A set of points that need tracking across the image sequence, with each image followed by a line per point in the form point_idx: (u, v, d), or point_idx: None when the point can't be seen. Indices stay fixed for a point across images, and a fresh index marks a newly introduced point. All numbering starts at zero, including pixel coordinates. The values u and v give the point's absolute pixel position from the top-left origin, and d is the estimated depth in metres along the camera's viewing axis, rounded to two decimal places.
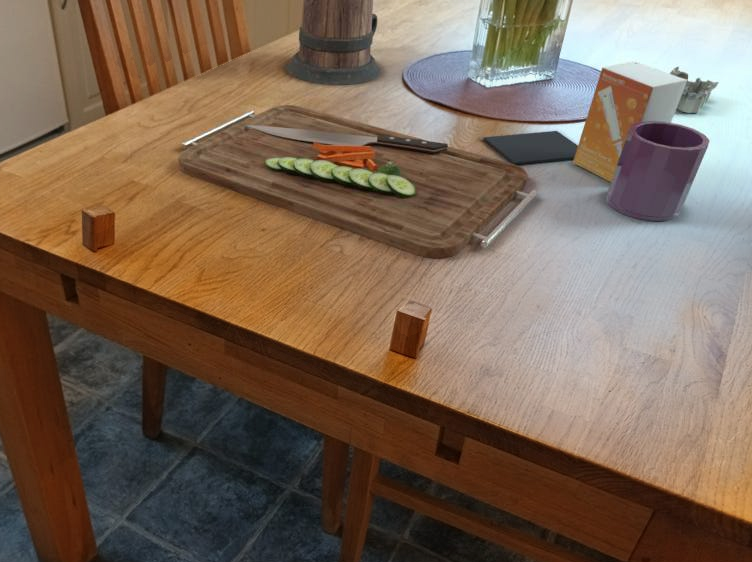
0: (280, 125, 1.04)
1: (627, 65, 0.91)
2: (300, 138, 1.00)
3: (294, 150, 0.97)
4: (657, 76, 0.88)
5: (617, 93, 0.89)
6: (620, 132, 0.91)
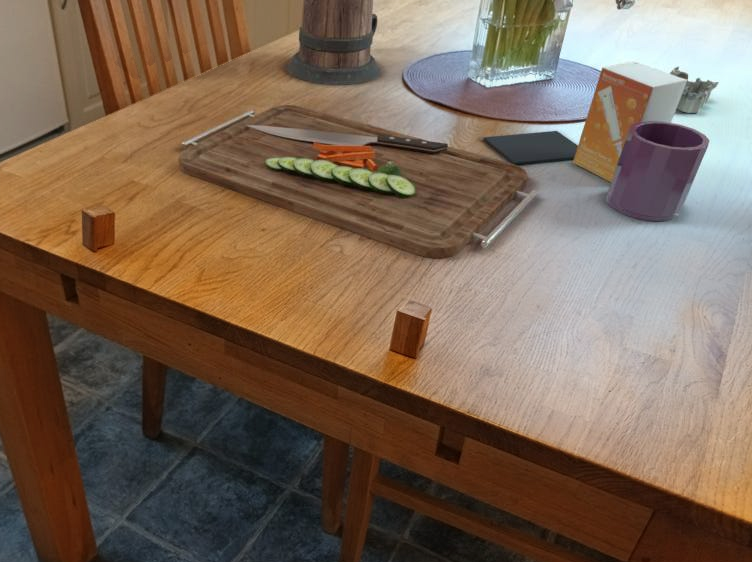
0: (280, 125, 1.04)
1: (627, 65, 0.91)
2: (300, 138, 1.00)
3: (294, 150, 0.97)
4: (657, 76, 0.88)
5: (617, 93, 0.89)
6: (620, 132, 0.91)
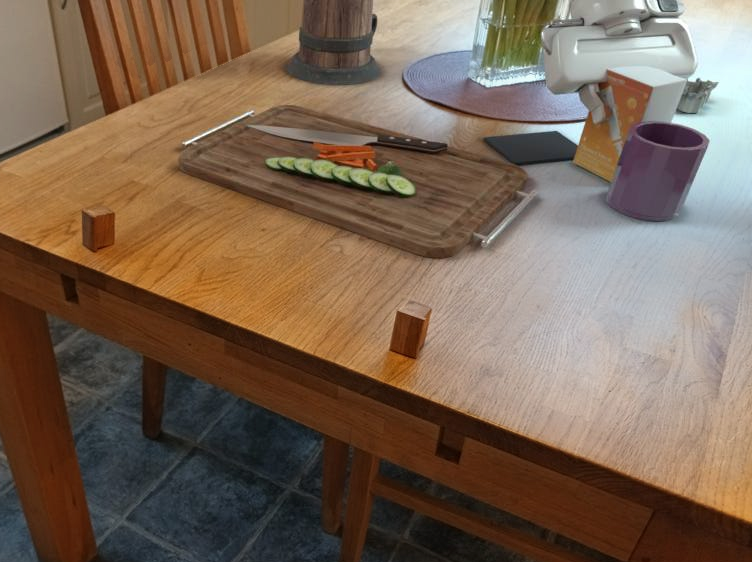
0: (280, 125, 1.04)
1: None
2: (300, 138, 1.00)
3: (294, 150, 0.97)
4: (657, 76, 0.88)
5: (617, 92, 0.89)
6: (621, 131, 0.91)
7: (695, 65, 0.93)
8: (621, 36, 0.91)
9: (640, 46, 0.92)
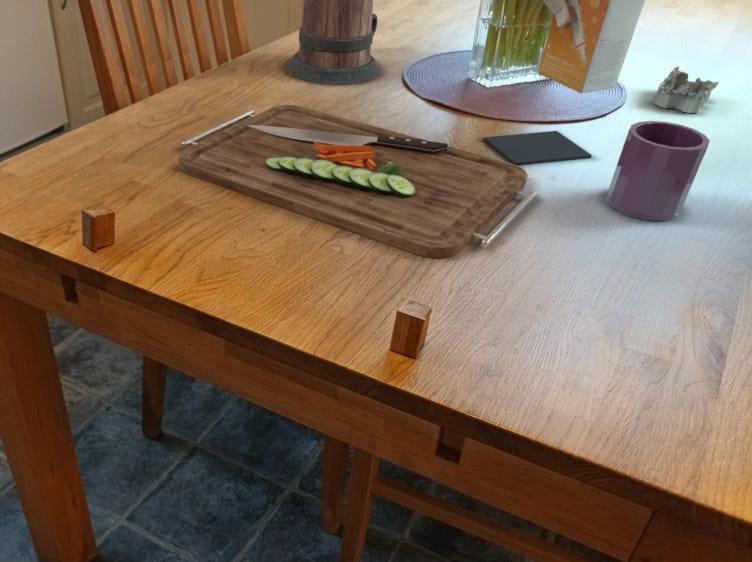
0: (280, 125, 1.04)
1: None
2: (300, 138, 1.00)
3: (294, 150, 0.97)
4: None
5: None
6: (584, 34, 0.88)
7: None
8: None
9: None
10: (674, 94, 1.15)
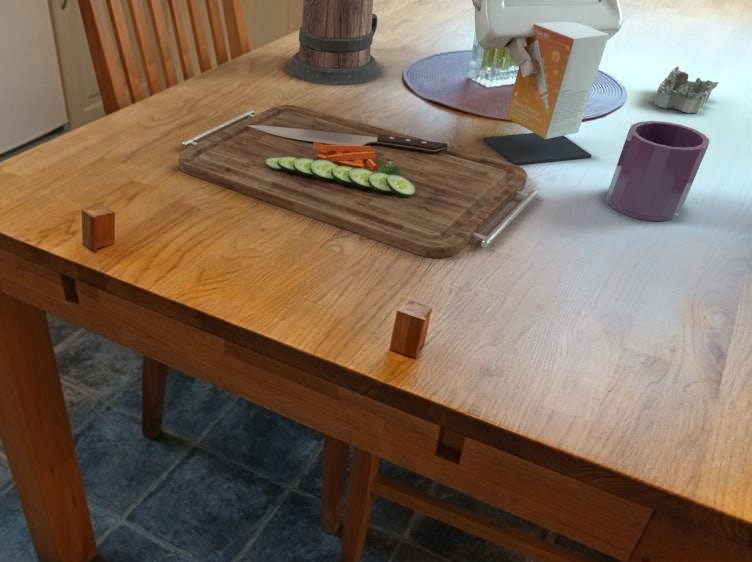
0: (280, 125, 1.04)
1: None
2: (300, 138, 1.00)
3: (294, 150, 0.97)
4: (580, 30, 0.91)
5: (543, 46, 0.93)
6: (546, 84, 0.94)
7: (620, 21, 0.96)
8: None
9: (567, 2, 0.95)
10: (674, 94, 1.15)
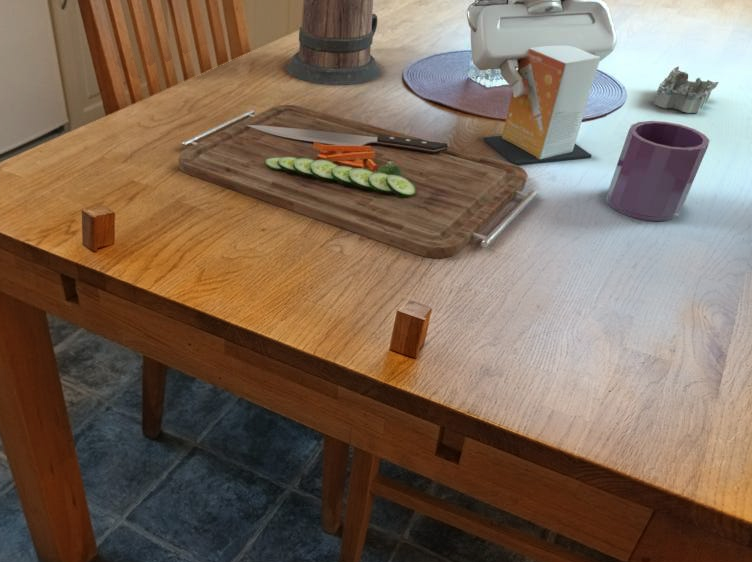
0: (280, 125, 1.04)
1: None
2: (300, 138, 1.00)
3: (294, 150, 0.97)
4: (572, 53, 0.93)
5: (535, 69, 0.95)
6: (540, 107, 0.96)
7: (614, 42, 0.98)
8: (543, 14, 0.96)
9: (561, 24, 0.97)
10: (674, 94, 1.15)
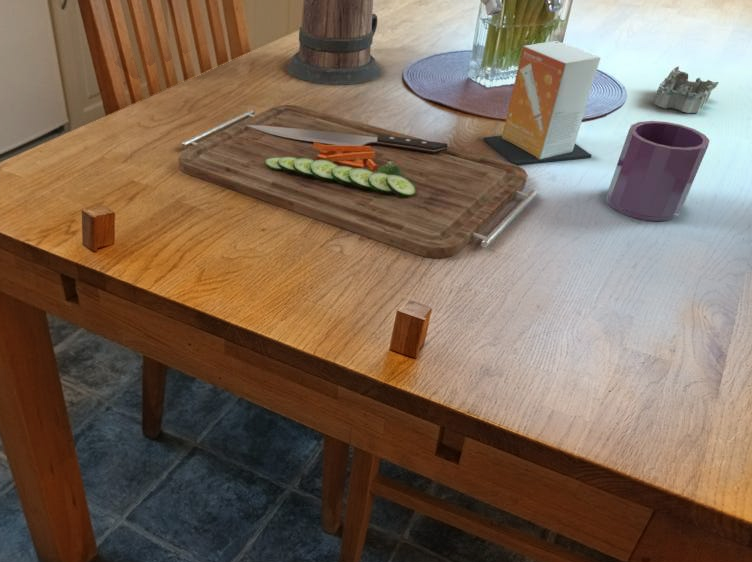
0: (280, 125, 1.04)
1: (547, 44, 0.96)
2: (300, 138, 1.00)
3: (294, 150, 0.97)
4: (572, 53, 0.93)
5: (535, 69, 0.95)
6: (540, 107, 0.96)
7: None
8: None
9: None
10: (674, 94, 1.15)
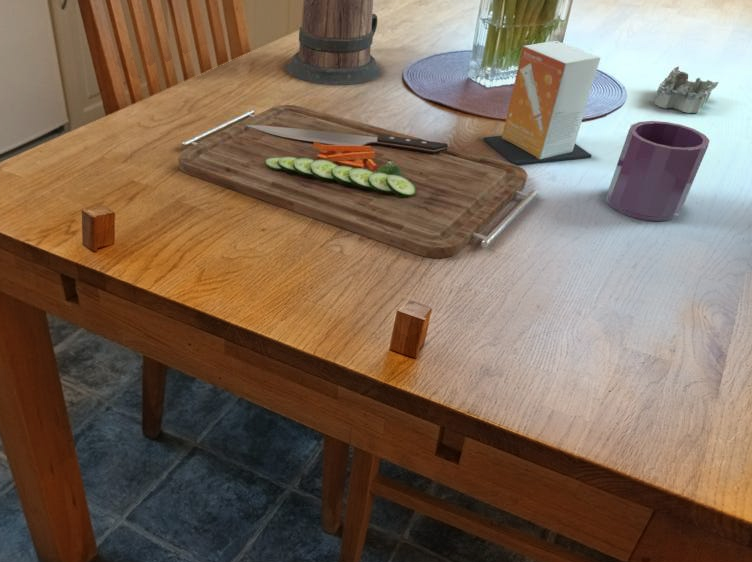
0: (280, 125, 1.04)
1: (547, 44, 0.96)
2: (300, 138, 1.00)
3: (294, 150, 0.97)
4: (572, 53, 0.93)
5: (536, 69, 0.95)
6: (540, 107, 0.96)
7: None
8: None
9: None
10: (674, 94, 1.15)
